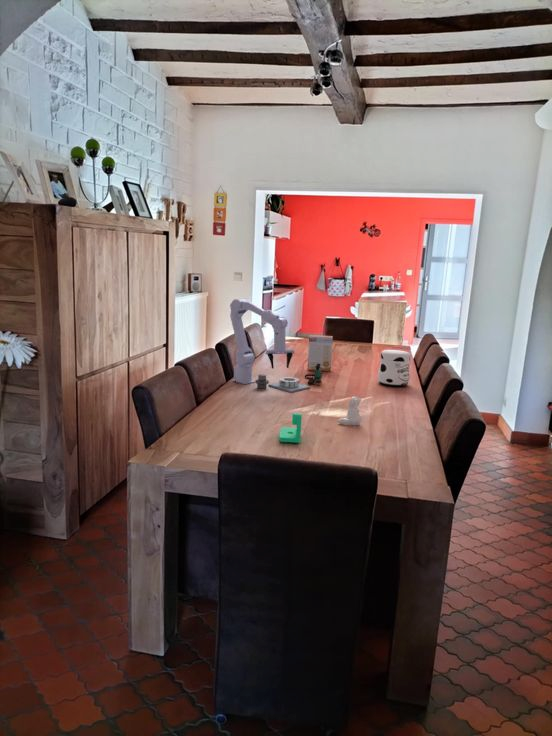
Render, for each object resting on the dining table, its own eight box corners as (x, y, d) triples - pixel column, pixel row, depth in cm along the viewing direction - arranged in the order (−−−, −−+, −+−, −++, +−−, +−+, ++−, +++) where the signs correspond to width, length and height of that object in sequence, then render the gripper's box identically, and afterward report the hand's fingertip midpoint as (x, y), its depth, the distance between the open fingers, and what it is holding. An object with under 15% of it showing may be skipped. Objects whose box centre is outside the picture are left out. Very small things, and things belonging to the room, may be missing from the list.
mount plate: (268, 386, 280) (268, 384, 280) (286, 382, 290) (287, 380, 290) (291, 392, 270) (291, 390, 269) (309, 388, 280) (309, 386, 279)
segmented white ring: (275, 384, 280) (275, 378, 279) (288, 382, 287) (288, 376, 286) (289, 388, 273) (289, 382, 272) (302, 385, 280) (303, 380, 279)
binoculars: (305, 363, 294) (323, 363, 292) (306, 382, 296) (324, 382, 294) (302, 366, 285) (321, 366, 283) (303, 385, 287) (322, 385, 285)
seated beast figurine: (348, 418, 232) (350, 392, 229) (366, 423, 226) (368, 396, 224) (336, 423, 224) (338, 396, 222) (354, 428, 219) (356, 400, 217)
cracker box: (330, 369, 326) (333, 335, 321) (330, 372, 320) (333, 337, 315) (307, 368, 327) (309, 334, 322) (307, 370, 321) (309, 335, 316)
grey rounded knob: (252, 388, 275) (252, 374, 274) (261, 386, 280) (262, 373, 279) (261, 390, 271) (262, 377, 269) (271, 388, 276) (271, 375, 274)
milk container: (409, 389, 287) (412, 356, 283) (376, 386, 290) (379, 353, 286) (408, 382, 303) (411, 350, 299) (377, 379, 306) (380, 348, 303)
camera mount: (281, 433, 210) (282, 408, 208) (300, 434, 210) (302, 409, 207) (278, 444, 198) (280, 417, 196) (299, 445, 198) (301, 418, 196)
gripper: (266, 342, 266) (266, 369, 269) (295, 342, 268) (295, 368, 270) (264, 341, 273) (265, 367, 275) (293, 340, 275) (293, 366, 277)
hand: (280, 368), depth 273 cm, fingers open, 7 cm apart
